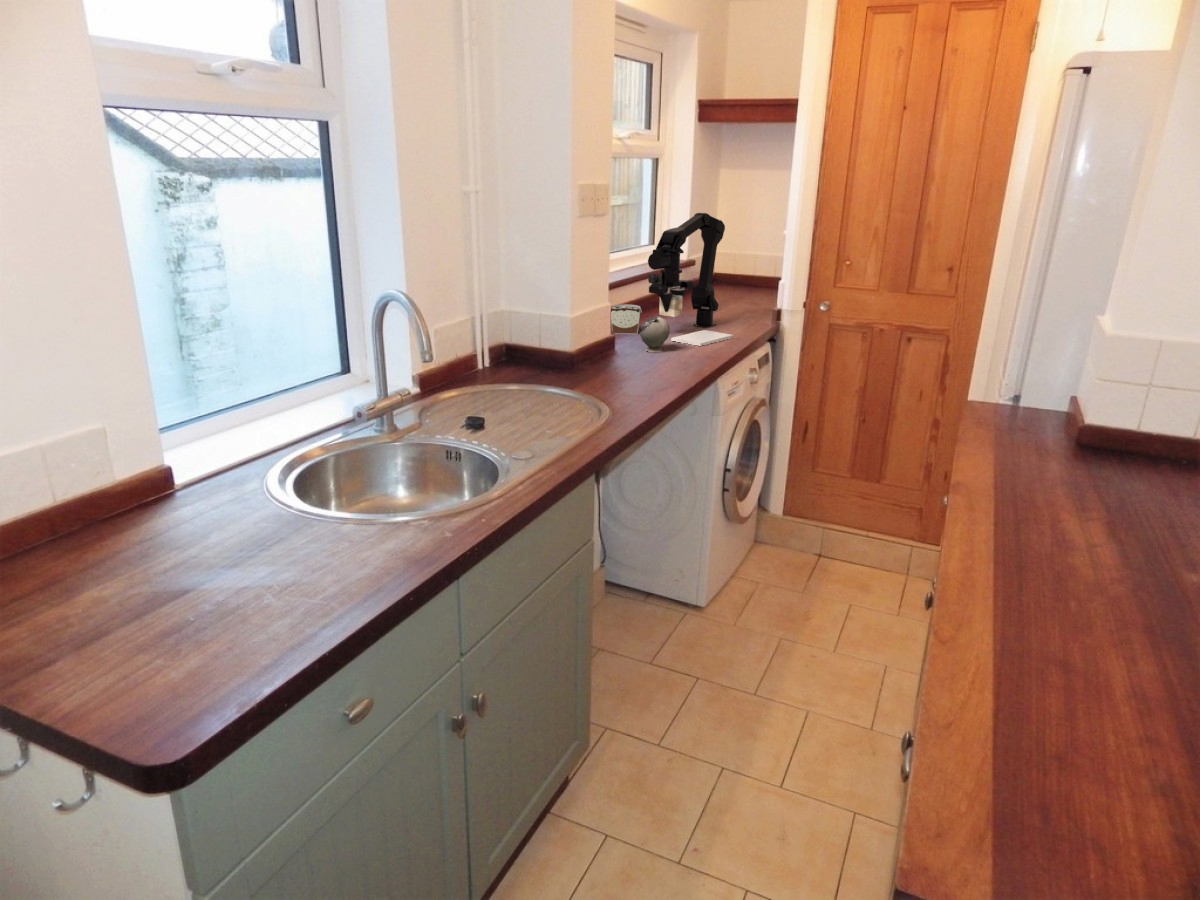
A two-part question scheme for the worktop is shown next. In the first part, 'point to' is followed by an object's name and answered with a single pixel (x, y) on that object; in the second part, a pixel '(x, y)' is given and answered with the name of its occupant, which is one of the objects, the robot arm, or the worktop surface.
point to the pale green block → (672, 307)
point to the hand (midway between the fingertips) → (670, 310)
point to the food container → (625, 319)
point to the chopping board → (702, 337)
